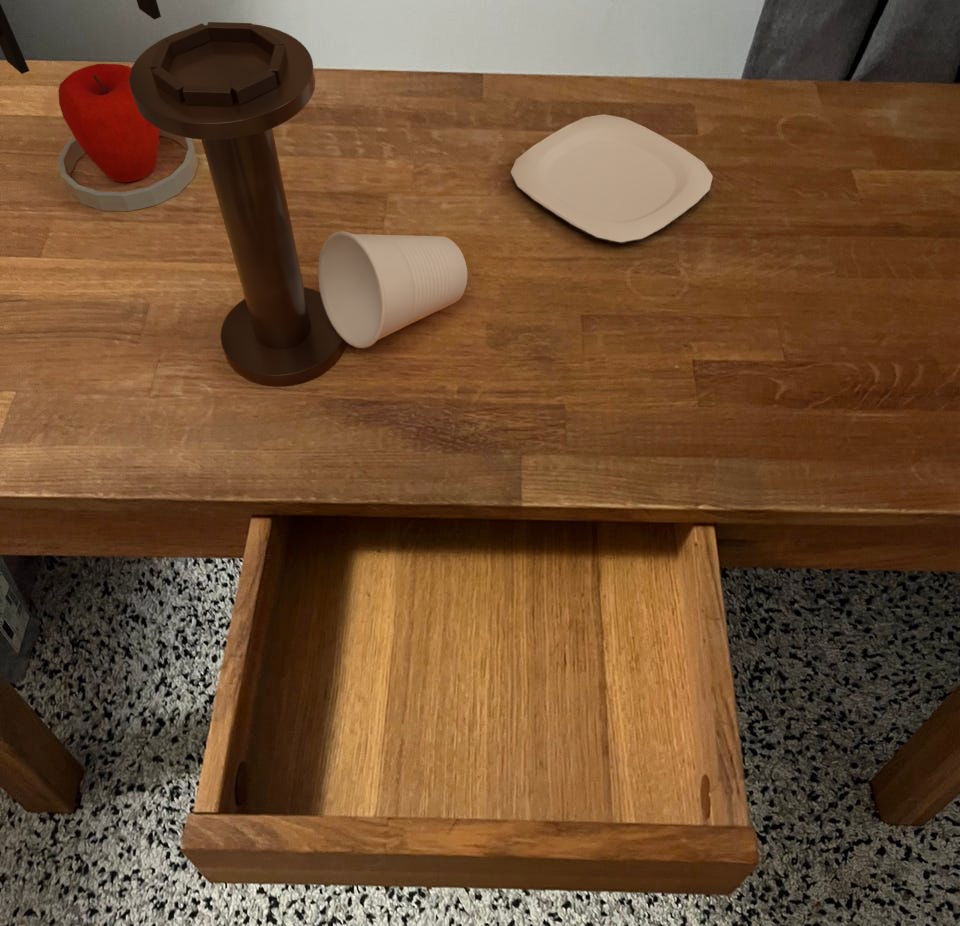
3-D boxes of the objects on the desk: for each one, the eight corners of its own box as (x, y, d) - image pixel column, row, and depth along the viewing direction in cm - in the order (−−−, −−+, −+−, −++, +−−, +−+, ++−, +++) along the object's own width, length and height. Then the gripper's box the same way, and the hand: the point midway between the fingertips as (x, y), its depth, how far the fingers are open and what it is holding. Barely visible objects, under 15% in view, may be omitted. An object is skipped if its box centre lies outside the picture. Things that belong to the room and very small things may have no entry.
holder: (271, 413, 74) (191, 133, 52) (192, 338, 79) (88, 52, 57) (379, 342, 79) (348, 59, 57) (298, 275, 84) (241, -10, 62)
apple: (155, 135, 96) (124, 40, 87) (188, 176, 92) (159, 81, 83) (76, 162, 93) (36, 66, 84) (107, 206, 89) (68, 111, 80)
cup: (453, 343, 83) (357, 370, 77) (403, 261, 85) (305, 281, 79) (499, 278, 75) (397, 302, 69) (443, 190, 78) (338, 205, 71)
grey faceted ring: (108, 229, 87) (101, 213, 86) (41, 167, 93) (34, 151, 91) (222, 171, 93) (218, 155, 91) (153, 116, 98) (147, 100, 97)
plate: (489, 183, 93) (490, 169, 91) (600, 115, 100) (602, 101, 99) (620, 268, 85) (623, 255, 84) (729, 187, 93) (733, 174, 92)
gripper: (-170, -183, 57) (-23, 109, 75) (159, -268, 67) (221, 7, 85) (-213, -215, 60) (-62, 73, 78) (108, -292, 70) (178, -22, 88)
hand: (86, 39), depth 81 cm, fingers open, 13 cm apart
